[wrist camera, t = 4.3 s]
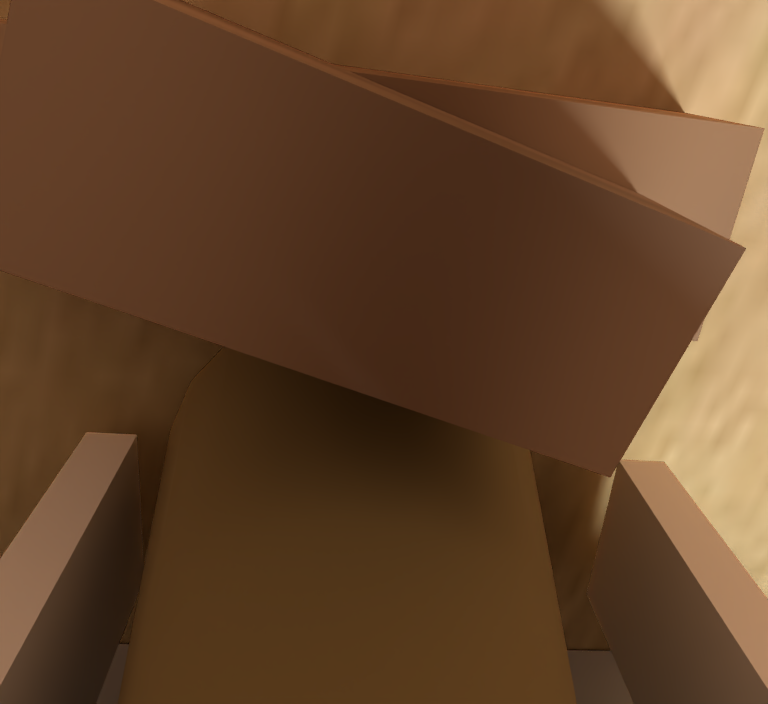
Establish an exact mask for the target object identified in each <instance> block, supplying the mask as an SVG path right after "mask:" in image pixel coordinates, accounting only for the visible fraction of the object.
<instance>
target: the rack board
mask: <svg viewBox="0 0 768 704" xmlns="http://www.w3.org/2000/svg"><path fill="white" fill-rule="evenodd" d="M128 647H129V644H119V645H118V647H117V650H116V652H115V655H114V658H113V660H112V663H111V665H110V668H109V671H108V673H107V676H106V678H105V681H104V684H103V686H102V689H101V691H100V694H99V697H98V699H97V702H96V704H118V699H119V694H120V689H121V684H122V678H123V673H124V668H125V663H126V658H127V652H128ZM567 653H568V659H569V664H570V669H571V675H572V680H573V686H574V691H575V696H576V702H577V704H634V703H633V701H632V698H631V696H630V694H629V691H628V689H627V687H626V685H625V682H624V680H623V678H622V675H621V673H620V671H619V668H618V666H617V664H616V661H615V659H614V657H613V654H612V652H611V651H586V650H567Z"/></svg>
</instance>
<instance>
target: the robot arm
mask: <svg viewBox="0 0 768 704" xmlns="http://www.w3.org/2000/svg"><path fill="white" fill-rule="evenodd" d="M143 569H144V558H143V538H142V519H141V500H140V480H139V461H138V442H137V435H135V434H116V433H96V432H86V433H85V435H84V436H83V438H82V439H81V441H80V442H79V444H78V445H77V447H76V448H75V450H74V451H73V453H72V454H71V456H70V457H69V458H68V460H67V461H66V463H65V464H64V466H63V467H62V469H61V470H60V472H59V473H58V475H57V476H56V478H55V479H54V481H53V482H52V483H51V485H50V486H49V488H48V489H47V491H46V492H45V494H44V495H43V497H42V498H41V500H40V501H39V503H38V504H37V506H36V507H35V508H34V510H33V511H32V513H31V514H30V516H29V517H28V519H27V520H26V522H25V523H24V525H23V526H22V528H21V529H20V531H19V532H18V533H17V535H16V536H15V538H14V539H13V541H12V542H11V544H10V545H9V547H8V548H7V550H6V551H5V553H4V554H3V556H2V557H1V558H0V704H96V702H97V699H98V697H99V694H100V691H101V689H102V686H103V684H104V681H105V678H106V676H107V673H108V671H109V668H110V665H111V663H112V660H113V658H114V655H115V652H116V650H117V647H118V645H119V642H120V640H121V637H122V634H123V632H124V629H125V627H126V624H127V621H128V619H129V616H130V614H131V611H132V608H133V606H134V603H135V601H136V598H137V595H138V593H139V590H140V585H141V579H142V574H143ZM586 594H587V596H588V599H589V601H590V603H591V606H592V608H593V610H594V613H595V615H596V617H597V620H598V622H599V624H600V627H601V629H602V631H603V634H604V636H605V638H606V641H607V643H608V645H609V647H610V650H611V652H612V654H613V657H614V659H615V661H616V664H617V666H618V668H619V671H620V673H621V675H622V678H623V680H624V682H625V685H626V687H627V689H628V691H629V694H630V696H631V698H632V701H633V703H634V704H768V599H767V597H766V596H765V595H764V593H763V592H762V591H761V589H760V588H759V587H758V585H757V584H756V583H755V581H754V580H753V579H752V577H751V576H750V575H749V573H748V572H747V571H746V569H745V568H744V567H743V565H742V564H741V563H740V562H739V560H738V559H737V558H736V556H735V555H734V554H733V552H732V551H731V550H730V548H729V547H728V546H727V544H726V543H725V542H724V540H723V539H722V538H721V536H720V535H719V534H718V532H717V531H716V530H715V528H714V527H713V526H712V524H711V523H710V522H709V520H708V519H707V518H706V516H705V515H704V514H703V513H702V511H701V510H700V509H699V507H698V506H697V505H696V503H695V502H694V501H693V499H692V498H691V497H690V495H689V494H688V493H687V491H686V490H685V489H684V487H683V486H682V485H681V483H680V482H679V481H678V479H677V478H676V477H675V475H674V474H673V473H672V471H671V470H670V469H669V468H668V466H667V465H666V464H665V462H658V461H639V460H620V462H619V463H618V465H617V468H616V473H615V477H614V481H613V485H612V489H611V493H610V497H609V502H608V506H607V510H606V514H605V518H604V522H603V527H602V531H601V535H600V539H599V543H598V547H597V552H596V556H595V560H594V564H593V568H592V572H591V577H590V581H589V585H588V589H587V593H586Z"/></svg>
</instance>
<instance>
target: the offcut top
mask: <svg viewBox="0 0 768 704" xmlns="http://www.w3.org/2000/svg"><path fill="white" fill-rule="evenodd" d="M745 249H746V248H744V247H743V246H741V245H739V244H737V243H735V242H733V241H731V240H729V239H727V238H725V237H723V236H721V235H719V234H717V233H715V232H713V231H711V230H709V229H707V228H705V227H704V226H702V225H700V224H698V223H696V222H694V221H692V220H690V219H688V218H686V217H684V216H682V215H680V214H678V213H676V212H674V211H672V210H670V209H668V208H667V207H665V206H663V205H661V204H659V203H657V202H655V201H653V200H651V199H649V198H647V197H645V196H643V195H641V194H639V193H637V192H635V191H632V190H630V189H627V188H625V187H623V186H620V185H618V184H616V183H613V182H611V181H608V180H606V179H604V178H601V177H599V176H597V175H594V174H592V173H589V172H587V171H585V170H582V169H580V168H578V167H575V166H573V165H571V164H568V163H566V162H563V161H561V160H559V159H556V158H554V157H552V156H549V155H547V154H544V153H542V152H540V151H537V150H535V149H533V148H530V147H528V146H525V145H523V144H521V143H518V142H516V141H514V140H511V139H509V138H506V137H504V136H502V135H499V134H497V133H495V132H492V131H490V130H487V129H485V128H483V127H480V126H478V125H476V124H473V123H471V122H468V121H466V120H464V119H461V118H459V117H457V116H454V115H452V114H449V113H447V112H445V111H442V110H440V109H438V108H435V107H433V106H430V105H428V104H426V103H423V102H421V101H419V100H416V99H414V98H412V97H409V96H407V95H404V94H402V93H400V92H397V91H395V90H393V89H390V88H388V87H385V86H383V85H381V84H378V83H376V82H374V81H371V80H369V79H366V78H364V77H362V76H359V75H357V74H355V73H352V72H350V71H347V70H345V69H343V68H340V67H338V66H336V65H333V64H331V63H328V62H326V61H324V60H321V59H319V58H317V57H314V56H312V55H309V54H307V53H305V52H302V51H300V50H298V49H295V48H293V47H290V46H288V45H286V44H283V43H281V42H279V41H276V40H274V39H272V38H269V37H267V36H264V35H262V34H260V33H257V32H255V31H253V30H250V29H248V28H245V27H243V26H241V25H238V24H236V23H234V22H231V21H229V20H226V19H224V18H222V17H219V16H217V15H215V14H212V13H210V12H207V11H205V10H203V9H200V8H198V7H196V6H193V5H191V4H188V3H186V2H184V1H181V0H11V3H10V9H9V14H8V19H7V25H6V30H5V35H4V41H3V46H2V51H1V57H0V271H3V272H6V273H9V274H12V275H15V276H18V277H21V278H24V279H27V280H30V281H33V282H36V283H39V284H42V285H45V286H47V287H50V288H53V289H56V290H59V291H62V292H65V293H68V294H71V295H74V296H77V297H80V298H83V299H86V300H89V301H92V302H95V303H98V304H101V305H103V306H106V307H109V308H112V309H115V310H118V311H121V312H124V313H127V314H130V315H133V316H136V317H139V318H142V319H145V320H148V321H151V322H154V323H157V324H159V325H162V326H165V327H168V328H171V329H174V330H177V331H180V332H183V333H186V334H189V335H192V336H195V337H198V338H201V339H204V340H207V341H210V342H212V343H215V344H218V345H221V346H224V347H227V348H230V349H233V350H236V351H239V352H242V353H245V354H248V355H251V356H254V357H257V358H260V359H263V360H266V361H268V362H271V363H274V364H277V365H280V366H283V367H286V368H289V369H292V370H295V371H298V372H301V373H304V374H307V375H310V376H313V377H316V378H319V379H322V380H324V381H327V382H330V383H333V384H336V385H339V386H342V387H345V388H348V389H351V390H354V391H357V392H360V393H363V394H366V395H369V396H372V397H375V398H377V399H380V400H383V401H386V402H389V403H392V404H395V405H398V406H401V407H404V408H407V409H410V410H413V411H416V412H419V413H422V414H425V415H428V416H431V417H433V418H436V419H439V420H442V421H445V422H448V423H451V424H454V425H457V426H460V427H463V428H466V429H469V430H472V431H475V432H478V433H481V434H484V435H487V436H489V437H492V438H495V439H498V440H501V441H504V442H507V443H510V444H513V445H516V446H519V447H522V448H525V449H528V450H531V451H534V452H537V453H540V454H542V455H545V456H548V457H551V458H554V459H557V460H560V461H563V462H566V463H569V464H572V465H575V466H578V467H581V468H584V469H587V470H590V471H593V472H596V473H598V474H601V475H604V476H607V477H611V475H612V474H613V472H614V470H615V468H616V467H617V465H618V463H619V462H620V460H621V458H622V457H623V455H624V453H625V452H626V450H627V448H628V447H629V445H630V443H631V442H632V440H633V438H634V436H635V435H636V433H637V431H638V430H639V428H640V426H641V425H642V423H643V421H644V420H645V418H646V416H647V415H648V413H649V411H650V409H651V408H652V406H653V404H654V403H655V401H656V399H657V398H658V396H659V394H660V393H661V391H662V389H663V388H664V386H665V384H666V383H667V381H668V379H669V377H670V376H671V374H672V372H673V371H674V369H675V367H676V366H677V364H678V362H679V361H680V359H681V357H682V356H683V354H684V352H685V350H686V349H687V347H688V345H689V344H690V342H691V340H692V339H693V337H694V335H695V334H696V332H697V330H698V329H699V327H700V325H701V324H702V322H703V320H704V318H705V317H706V315H707V313H708V312H709V310H710V308H711V307H712V305H713V303H714V302H715V300H716V298H717V297H718V295H719V293H720V291H721V290H722V288H723V286H724V285H725V283H726V281H727V280H728V278H729V276H730V275H731V273H732V271H733V270H734V268H735V266H736V264H737V263H738V261H739V259H740V258H741V256H742V254H743V253H744V251H745Z"/></svg>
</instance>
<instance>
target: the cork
mask: <svg viewBox="0 0 768 704" xmlns="http://www.w3.org/2000/svg"><path fill="white" fill-rule="evenodd" d="M118 704H577V702H576V696H575V691H574V686H573V680H572V675H571V669H570V664H569V659H568V653H567V648H566V642H565V637H564V631H563V626H562V621H561V615H560V610H559V604H558V599H557V594H556V588H555V583H554V577H553V572H552V567H551V561H550V556H549V550H548V545H547V540H546V534H545V529H544V523H543V518H542V512H541V507H540V502H539V496H538V491H537V485H536V480H535V475H534V469H533V464H532V458H531V453H530V450H528V449H525V448H522V447H519V446H516V445H513V444H510V443H507V442H504V441H501V440H498V439H495V438H492V437H489V436H487V435H484V434H481V433H478V432H475V431H472V430H469V429H466V428H463V427H460V426H457V425H454V424H451V423H448V422H445V421H442V420H439V419H436V418H433V417H431V416H428V415H425V414H422V413H419V412H416V411H413V410H410V409H407V408H404V407H401V406H398V405H395V404H392V403H389V402H386V401H383V400H380V399H377V398H375V397H372V396H369V395H366V394H363V393H360V392H357V391H354V390H351V389H348V388H345V387H342V386H339V385H336V384H333V383H330V382H327V381H324V380H322V379H319V378H316V377H313V376H310V375H307V374H304V373H301V372H298V371H295V370H292V369H289V368H286V367H283V366H280V365H277V364H274V363H271V362H268V361H266V360H263V359H260V358H257V357H254V356H251V355H248V354H245V353H242V352H239V351H236V350H233V349H230V348H227V347H223V348H222V349H221V350H220V351H219V352H218V353H217V354H216V355H215V356H214V358H213V359H212V360H211V361H210V362H209V363H208V364H207V365H206V366H205V367H204V368H203V369H202V370H201V371H200V372H199V373H198V374H197V375H196V376H195V378H194V379H193V380H192V381H191V382H190V385H189V387H188V389H187V392H186V394H185V396H184V399H183V401H182V403H181V406H180V408H179V410H178V413H177V415H176V417H175V420H174V422H173V424H172V427H171V429H170V433H169V439H168V444H167V449H166V454H165V460H164V465H163V470H162V475H161V480H160V486H159V491H158V496H157V501H156V506H155V512H154V517H153V522H152V527H151V532H150V538H149V543H148V548H147V553H146V559H145V564H144V569H143V574H142V579H141V585H140V590H139V595H138V600H137V605H136V611H135V616H134V621H133V626H132V631H131V637H130V642H129V647H128V652H127V658H126V663H125V668H124V673H123V678H122V684H121V689H120V694H119V699H118Z"/></svg>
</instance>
